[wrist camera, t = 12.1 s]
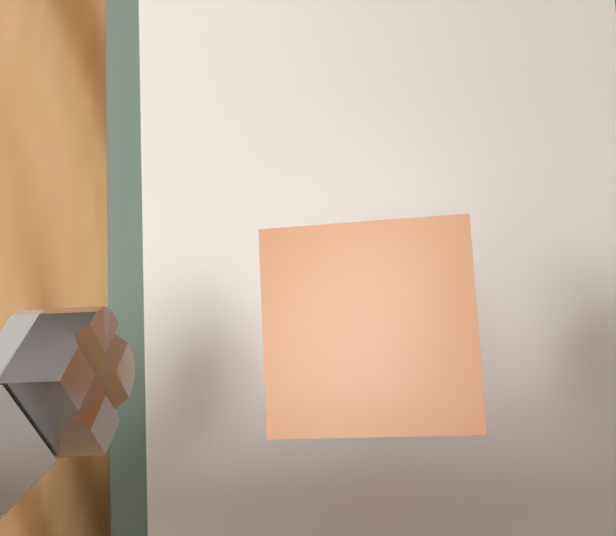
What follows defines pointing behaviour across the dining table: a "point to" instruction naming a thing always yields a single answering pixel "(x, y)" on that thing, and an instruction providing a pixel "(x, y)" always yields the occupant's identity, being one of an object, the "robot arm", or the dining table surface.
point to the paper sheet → (379, 267)
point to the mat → (126, 260)
